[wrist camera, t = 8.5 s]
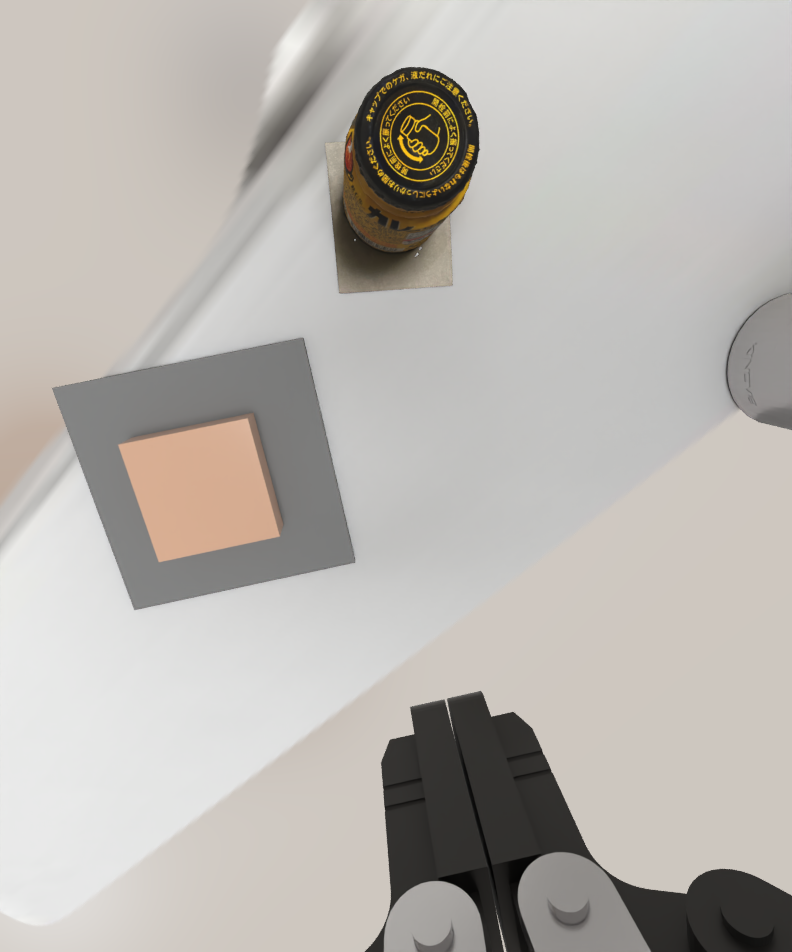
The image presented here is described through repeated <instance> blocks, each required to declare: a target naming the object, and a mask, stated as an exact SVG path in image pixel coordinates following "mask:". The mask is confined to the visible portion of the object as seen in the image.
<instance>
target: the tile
mask: <svg viewBox="0 0 792 952" xmlns="http://www.w3.org/2000/svg"><path fill="white" fill-rule="evenodd" d="M118 446H119V449H120V452H121V455H122V458H123V460H124V463H125V466H126V469H127V472H128V475H129V478H130V481H131V484H132V486H133V489H134V492H135V495H136V498H137V501H138V504H139V507H140V509H141V512H142V515H143V518H144V521H145V524H146V527H147V530H148V533H149V535H150V538H151V541H152V544H153V547H154V550H155V553H156V556H157V558H158V561H159V562H163V561H168V560H172V559H177V558H182V557H186V556H191V555H196V554H200V553H205V552H210V551H214V550H219V549H224V548H228V547H233V546H238V545H243V544H247V543H252V542H257V541H261V540H266V539H271V538H275V537H280V535H281V531H282V528H283V521H282V517H281V514H280V510H279V506H278V502H277V499H276V495H275V491H274V488H273V484H272V480H271V476H270V473H269V469H268V465H267V462H266V458H265V454H264V450H263V447H262V443H261V439H260V436H259V432H258V428H257V424H256V421H255V417H254V413H249V414H245V415H240V416H235V417H230V418H225V419H220V420H215V421H210V422H205V423H201V424H196V425H191V426H186V427H181V428H176V429H171V430H166V431H161V432H157V433H152V434H147V435H142V436H137V437H132V438H130V439H128V440H126V441H124V442H122V443H120V444H119V445H118Z"/></svg>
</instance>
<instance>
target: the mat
mask: <svg viewBox="0 0 792 952" xmlns="http://www.w3.org/2000/svg"><path fill="white" fill-rule="evenodd" d="M52 389H53V392H54V395H55V397H56V400H57V403H58V405H59V408H60V410H61V413H62V416H63V419H64V422H65V424H66V427H67V430H68V432H69V435H70V438H71V440H72V443H73V446H74V448H75V451H76V454H77V457H78V459H79V462H80V465H81V467H82V470H83V473H84V475H85V478H86V481H87V483H88V486H89V489H90V492H91V494H92V497H93V500H94V502H95V505H96V508H97V510H98V513H99V516H100V518H101V521H102V524H103V527H104V529H105V532H106V535H107V537H108V540H109V543H110V545H111V548H112V551H113V553H114V556H115V559H116V562H117V564H118V567H119V570H120V572H121V575H122V578H123V580H124V583H125V586H126V588H127V591H128V594H129V597H130V599H131V602H132V605H133V607H134V610H137V609H142V608H147V607H151V606H156V605H160V604H165V603H170V602H174V601H179V600H184V599H188V598H193V597H197V596H202V595H207V594H211V593H216V592H221V591H225V590H230V589H234V588H239V587H244V586H248V585H253V584H258V583H262V582H267V581H271V580H276V579H281V578H285V577H290V576H295V575H299V574H304V573H309V572H313V571H318V570H322V569H327V568H332V567H336V566H341V565H346V564H350V563H355V558H354V554H353V550H352V545H351V541H350V537H349V532H348V528H347V524H346V520H345V515H344V511H343V507H342V502H341V498H340V494H339V489H338V485H337V481H336V477H335V472H334V468H333V464H332V459H331V455H330V451H329V447H328V442H327V438H326V434H325V429H324V425H323V421H322V417H321V412H320V408H319V404H318V399H317V395H316V391H315V387H314V382H313V378H312V374H311V369H310V365H309V361H308V357H307V352H306V348H305V344H304V339H303V338H300V339H295V340H290V341H285V342H280V343H275V344H270V345H265V346H260V347H255V348H250V349H245V350H240V351H235V352H230V353H225V354H220V355H215V356H210V357H205V358H200V359H195V360H190V361H185V362H180V363H175V364H170V365H165V366H160V367H155V368H150V369H145V370H140V371H135V372H130V373H125V374H120V375H115V376H110V377H105V378H100V379H95V380H90V381H85V382H81V383H75V384H71V385H65V386H61V387H55V388H52ZM249 413H254V417H255V421H256V424H257V428H258V432H259V436H260V439H261V443H262V447H263V450H264V454H265V458H266V462H267V465H268V469H269V473H270V476H271V480H272V484H273V488H274V491H275V495H276V499H277V502H278V506H279V510H280V514H281V517H282V521H283V528H282V531H281V535H280V537H275V538H271V539H266V540H261V541H257V542H252V543H247V544H243V545H238V546H233V547H228V548H224V549H219V550H214V551H210V552H205V553H200V554H196V555H191V556H186V557H182V558H177V559H172V560H168V561H163V562H159V561H158V558H157V556H156V553H155V550H154V547H153V544H152V541H151V538H150V535H149V533H148V530H147V527H146V524H145V521H144V518H143V515H142V512H141V509H140V507H139V504H138V501H137V498H136V495H135V492H134V489H133V486H132V484H131V481H130V478H129V475H128V472H127V469H126V466H125V463H124V460H123V458H122V455H121V452H120V449H119V446H118V445H119V444H120V443H122V442H124V441H126V440H128V439H130V438H132V437H137V436H142V435H147V434H152V433H157V432H161V431H166V430H171V429H176V428H181V427H186V426H191V425H196V424H201V423H205V422H210V421H215V420H220V419H225V418H230V417H235V416H240V415H245V414H249Z"/></svg>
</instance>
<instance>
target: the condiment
mask: <svg viewBox="0 0 792 952" xmlns="http://www.w3.org/2000/svg"><path fill="white" fill-rule="evenodd" d="M325 147H326V157H327V168H328V178H329V189H330V200H331V210H332V220H333V231H334V241H335V252H336V262H337V272H338V283H339V293H351V292H366V291H381V290H395V289H410V288H423V287H437V286H451V285H453V284H452V260H451V232H450V214H451V213H452V212H453V211H454V210H455V209H456V207H457V206H458V205H459V204H461V202H462V201H463V199H464V196H465V193H466V191H467V189H468V187H469V183H470V180H471V177H472V173H473V171H474V169H475V165H476V164H477V158H478V152H479V150H480V149H479V129H478V121H477V116H476V113H475V112H474V110H473V108H472V106H471V104H470V102H469V100H468V97H467V94H466V92H465V91H464V90H463V89H462V87H461V86H460V85H459V84H457V83H456V82H455V81H454V80H453V79H451V78H449V77H447V76H446V75H444V74H443V73H441V72H439V71H436V70H433V69H428V68H421V67H417V68H416V67H407V68H401V69H399V70H396V71H395V72H393V73H392V74H390V75H387V76H385V77H384V78H382V79H381V81H379V82H378V83H377V84H376V85H374V86H373V87H372V89H371V90H370V91H369V92H368V93H367V95H366V97H365V98H364V100H363V102H362V105H361V106H360V108H359V110H358V113H357V115H356V116H355V119H354V120H353V122H352V125H351V127H350V129H349V132H348V134H347V136H346V142H332V143H325ZM354 239H356V241H354ZM420 247H422V249H421V250H419V248H420ZM417 252H418V253H419V255H418V256H417V257H415V254H416V253H417Z"/></svg>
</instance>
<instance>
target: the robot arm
mask: <svg viewBox="0 0 792 952" xmlns="http://www.w3.org/2000/svg"><path fill="white" fill-rule="evenodd" d="M727 374H728V383H729V388H730V391H731V394H732V397H733V399H734V401H735V402H736V404H737V405H738V407H739V408H740V409H741V410H742V411H743V412H744V413H745V414H746V415H747V416H749V417H750V418H752V419H754V420H756V421H758V422H761V423H765V424H770V425H774V426H778V427H782V428H787V429H790V430H792V293H791V294H785V295H783V296H780V297H778V298H776V299H773V300H771V301H770V302H768V303H767V304H765V305H764V306H762V307H761V308H759V309H758V310H757V311H756V312H755V313H754V314H753V315H752V316H751V317H750V318H749V319H748V320H747V321H746V323H745V324H744V326H743V327H742V328H741V330H740V331H739V333H738V335H737V337H736V339H735V341H734V343H733V345H732V349H731V353H730V356H729V361H728V372H727ZM447 701H448V707H449V711H450V717H451V721H452V727H453V731H452V727H451V723H450V719H449V715H448V711H447V707H446V703H445V700H440V701H435V702H430V703H426V704H421V705H417V706H412V707H410V708H411V715H412V721H413V727H414V733H415V734H414V735H409V736H405V737H400V738H396V739H391V740H390V741H389V744H388V746H387V749H386V751H385V754H384V757H383V759H382V762H381V766H382V779H383V789H384V805H385V819H386V831H387V844H388V858H389V872H390V884H391V903H390V910H389V913H388V917H387V919H386V922H385V924H384V926H383V929H382V930H381V932H380V934H379V935H378V937H377V938H376V940H375V941H374V942H373V944H372V945H371V946H370V947H369V948H368V949H367V950H366V951H365V952H504V950H503V945H502V940H501V935H500V930H499V924H498V919H499V923H500V927H501V931H502V935H503V939H504V943H505V947H506V951H507V952H792V896H791V895H790V894H788V893H786V892H784V891H782V890H780V889H779V888H777V887H775V886H773V885H771V884H769V883H767V882H765V881H763V880H762V879H760V878H758V877H755V876H753V875H751V874H748V873H745V872H742V871H737V870H732V869H731V870H730V869H717V870H711V871H708V872H705V873H703V874H702V875H700V876H698V877H697V878H696V879H695V880H694V881H693V882H692V884H691V885H690V887H689V889H688V892H687V894H683V893H674V892H666V891H658V890H649V889H644V888H639V887H636V886H632V885H630V884H627V883H625V882H623V881H621V880H619V879H617V878H616V877H614V876H612V875H611V874H610V873H608V872H607V871H606V870H605V869H603V868H602V867H601V866H600V865H599V864H598V863H597V862H596V861H595V859H594V858H593V857H592V855H591V854H590V852H589V851H588V849H587V847H586V845H585V843H584V841H583V839H582V836H581V834H580V832H579V830H578V828H577V826H576V823H575V821H574V819H573V817H572V815H571V813H570V810H569V808H568V806H567V804H566V802H565V799H564V797H563V795H562V793H561V790H560V788H559V786H558V784H557V782H556V780H555V777H554V775H553V773H552V772H551V769H550V766H549V764H548V762H547V760H546V758H545V756H544V755H543V752H542V749H541V747H540V744H539V742H538V740H537V738H536V736H535V734H534V732H533V729H532V728H531V727H530V726H529V725H528V724H527V723H525V722H524V721H523V720H522V719H521V718H520V717H519V716H517V715H516V714H515V713H514V712H511V713H507V714H502V715H498V716H493V717H491V715H490V712H489V710H488V707H487V704H486V701H485V699H484V696H483V693H482V692H481V691H479V692H474V693H470V694H466V695H461V696H457V697H452V698H448V699H447ZM453 732H454V734H453ZM454 737H455V738H454ZM496 911H497V914H496ZM497 915H498V919H497Z"/></svg>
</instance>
